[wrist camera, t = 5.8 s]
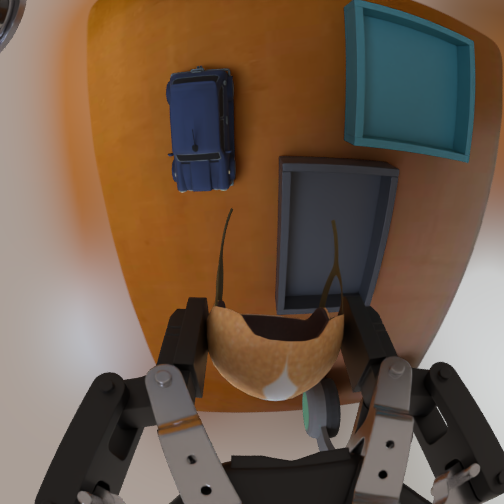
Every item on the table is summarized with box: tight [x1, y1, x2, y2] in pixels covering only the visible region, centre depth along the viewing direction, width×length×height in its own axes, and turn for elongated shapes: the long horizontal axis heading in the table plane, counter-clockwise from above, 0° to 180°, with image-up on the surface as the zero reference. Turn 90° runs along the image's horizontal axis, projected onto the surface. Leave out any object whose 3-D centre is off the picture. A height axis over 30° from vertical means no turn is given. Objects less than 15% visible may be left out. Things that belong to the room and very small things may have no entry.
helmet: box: [207, 208, 344, 401], centre depth 12 cm, size 6×7×8 cm
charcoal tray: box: [275, 156, 399, 315], centre depth 30 cm, size 18×12×3 cm, turn 1°
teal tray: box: [344, 0, 475, 163], centre depth 21 cm, size 15×15×3 cm
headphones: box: [303, 378, 413, 452], centre depth 38 cm, size 19×11×20 cm, turn 93°
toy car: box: [166, 66, 236, 192], centre depth 23 cm, size 6×12×6 cm, turn 1°
